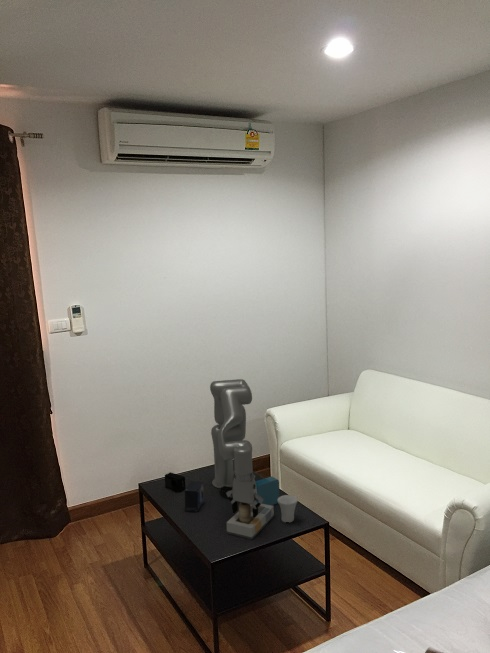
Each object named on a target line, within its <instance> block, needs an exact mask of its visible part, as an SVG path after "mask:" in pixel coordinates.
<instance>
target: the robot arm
mask: <svg viewBox="0 0 490 653" xmlns="http://www.w3.org/2000/svg"><path fill="white" fill-rule="evenodd" d="M209 389H210V393H211V395H212V398H213V401H214V402H213V404H214V405H213V407H214V409H213V412H214V413H213V415H214V416H213V417H214V421H215V424H214V425H213V427H212V428H211V429H210V430H211V432H210V434H211V439H212V445H213V446H212V447H213V461H214V462H213V463H214V478H213V480H211V481H212V482H211V483H212V486H213V487H215V488H218V489H221V486H222V487H223V486H227V487H230V488H232V490H230V491H228V492H226V494H227V496H228V499H229V500H228V499H227V500H228V501H230V504H231V510H232V513H233V514H236V513H237V512H238V511H239V504H238V503H239V502H243V503H248V504H251V505H252V506H253V518H255V517H256V516H257V515H258V507H259V506H260V505H261V504H262V502H263V498H262V497H260V496H259V495H258V494H257V487H256V482H255V481H256V474H254V472H253V446H252V443H251V441H249V440H248V439H245V438H246V435H247V434H246V428H247V427H246V426H247V412H246V407H244V406H245V405H251V403H252V400H253V394H252V390H251V388H250V386H249V384H248V383H247V381H246V380H245V379H242V378H239V379H238V378H237V379H225V380H214V381H212V382H211V383H210V385H209ZM231 494H232V496H233V497H232V496H231ZM257 499H258V500H259V502H257V501H256V500H257ZM254 503H255V504H254Z"/></svg>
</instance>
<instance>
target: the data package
mask: <svg viewBox="0 0 490 653" xmlns="http://www.w3.org/2000/svg"><path fill="white" fill-rule="evenodd" d="M255 482H256V487H257V494H258V495H259V496H260V497H262V498H263V502H262V504H266V505H271V506H274V505H276V504H278V501H277V500H278V498H279V497H280V481H279V479H278V478H276V477H274V476H269V477H266V478H262V479H258V480H255ZM256 501H257V502H259V500H258V499H257V500H256Z"/></svg>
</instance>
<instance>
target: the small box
mask: <svg viewBox="0 0 490 653" xmlns="http://www.w3.org/2000/svg"><path fill="white" fill-rule="evenodd" d="M204 501H205V500H204V482H203V481H195V480H191V481H190V482H189V484H187V486H185V490H184V511H185V512H190V513H191V512H192V513H198V512H199V510H200V509H201V507H202V506H203V504H204Z"/></svg>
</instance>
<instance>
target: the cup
mask: <svg viewBox="0 0 490 653" xmlns="http://www.w3.org/2000/svg"><path fill="white" fill-rule="evenodd" d="M277 501H278V503H277V504H278V505H279V507H280V511H281V521H282V522H283V523H286V522H289V523H292V522H293V521H295V510H296V506H297V505H298V504H297V503H298V501H299V500H298V497H297V496H295V495H292V494H284V495H281V496H280V495H279V498H278V500H277Z"/></svg>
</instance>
